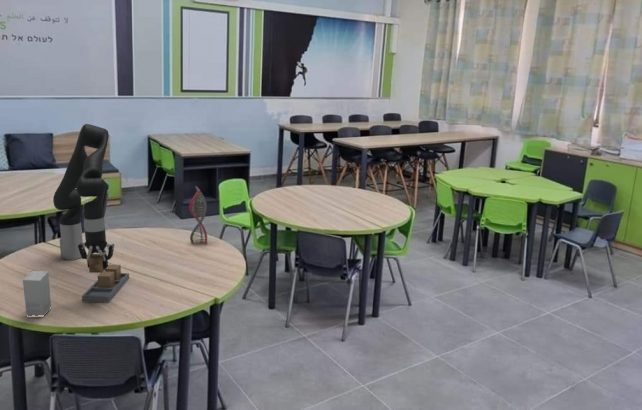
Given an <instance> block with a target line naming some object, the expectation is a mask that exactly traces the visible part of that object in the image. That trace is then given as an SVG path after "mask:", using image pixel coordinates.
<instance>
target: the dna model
mask: <svg viewBox="0 0 642 410" xmlns="http://www.w3.org/2000/svg"><path fill="white" fill-rule="evenodd" d="M194 188H195V190H196V192H195V194H194V195H193V197H192V198H191V201H190V202H189V205H188V208H189V211H190V214H191V215H192V217H194V219H195V220H196V221H197V223H196V225H195V227H194V229H193V230H191V231H192V232H191V233H190V235H189V240H190V242H191V243H197V242H199V243H200V244H205V245H207V244H208V232H207V229H206V228H205V225H204V224H203V223H202V222H203V220H204V219H205V217H206V214H207V211H208V209H207V208H208V206H207V201H206V198H205V196H204V194H203V192H202V190H201V189H200V188H199V187H198V186H197V185H196V186H195V187H194Z"/></svg>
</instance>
